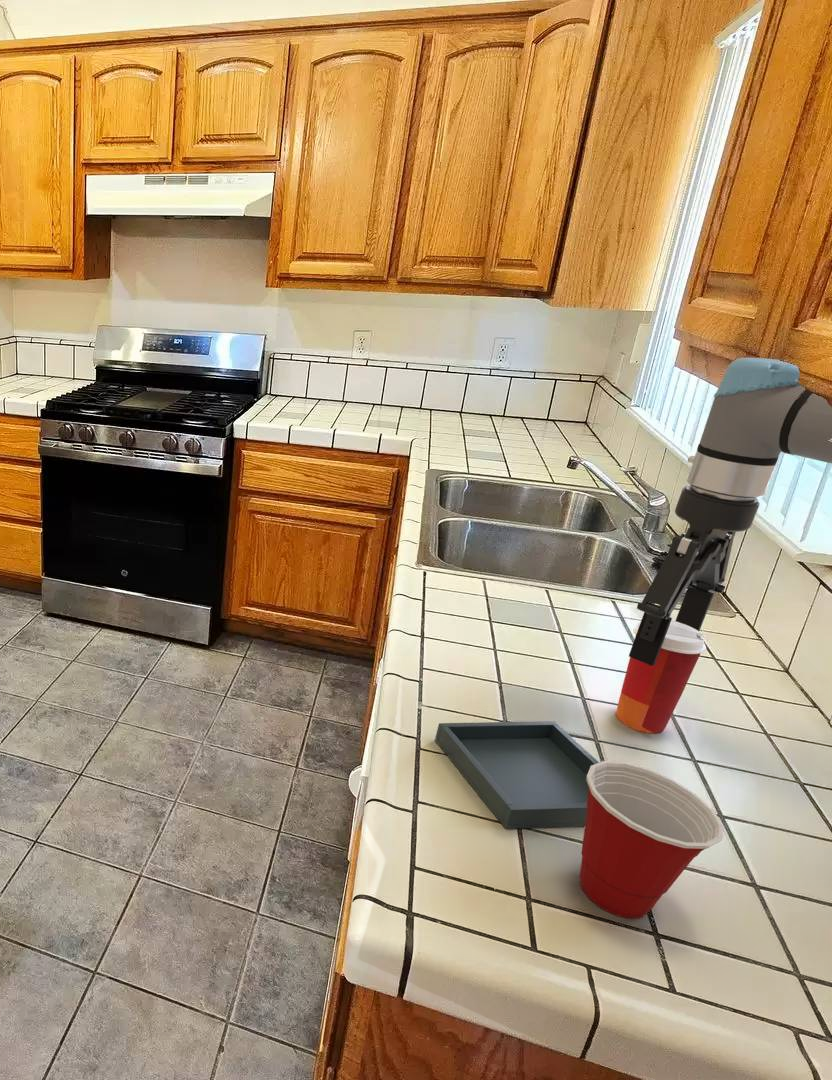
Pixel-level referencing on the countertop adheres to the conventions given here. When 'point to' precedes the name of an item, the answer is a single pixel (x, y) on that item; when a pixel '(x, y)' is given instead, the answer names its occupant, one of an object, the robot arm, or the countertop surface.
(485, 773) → the tray
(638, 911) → the plastic cup
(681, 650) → the paper cup
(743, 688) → the countertop surface
